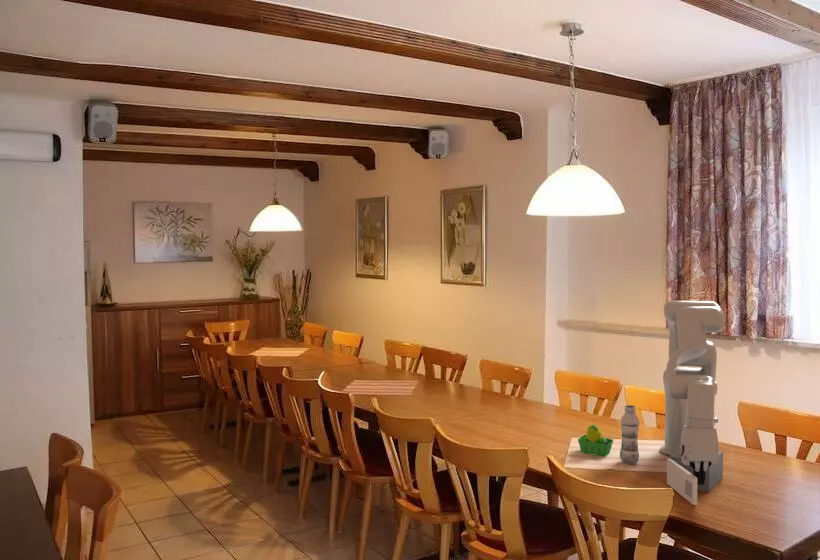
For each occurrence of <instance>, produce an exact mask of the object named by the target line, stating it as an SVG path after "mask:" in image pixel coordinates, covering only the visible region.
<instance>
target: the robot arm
mask: <svg viewBox="0 0 820 560" xmlns="http://www.w3.org/2000/svg"><path fill="white" fill-rule="evenodd" d="M663 313H664V319H665V321H666V322H667V325H668V328H669V337H668V361H667V363H666V368H665V370H664V371H663V374H662V381H663V389H664V400H665V401H664V403H665V404H664V405H665V407H664V409H665V410H664V445H662V446H660V448H659V451H660V453H662V454H663V455H666V456H668V457H670V456H671V455H672V454H674V453H675V452H676V451H678V450H679V449H680V456H681V457H682V460H681V463H683V464H684V465H689V466H691V467H692V469H693V475H694V476H696V477H697V484H698V485H701V484H702V485H704V481H705V472H706V471H707V469H708V468H709V467H710V466H711V465H713V464H717V463H718V460H717V459H718V456H719V447H720V446H719V437H718V432H717V428H716V426H715V425H716V424H717V423H719V418H718V417H716V416H715V397H716V395H717V393H718V383H717V381H716V377H717V376H716V375H717V374H716V373H717V362H718V361H717V356H718V355H717V354H718V353H717V352H718V351H717V349H716V345H715V344H714V343H713V342H712V341H709V340H708V339H707V333H721V332H722V331H723V330H724V328H725V323H726V322H725V321H726V320H725V319H726V318H725V315H724V312H723V309H722V308H721V306H720V305H719V304H718V303H717V302H715V301H713V300H712V301H711V300H669V301H666V303H665V304H664V306H663ZM699 461H700V464H699Z"/></svg>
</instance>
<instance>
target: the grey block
mask: <svg viewBox="0 0 820 560" xmlns="http://www.w3.org/2000/svg"><path fill="white" fill-rule="evenodd" d="M669 459H672V460H673V461H675V462H676V463H677V464H679V465H680V466H682V467H683V468H684V469H686V470H687V471H689V472H690V473H691V474H693V469H692V467H691V466H689V465H684V464H683V463H681V460H682V457H681V456H680V449H679V450H678V451H676V452H675V453H674V454H672V455H671V456H669ZM717 460H718V463H717V464H713V465H711V466H710V467H709V468H708V469H707V471H706V472H705V481H704V485H702V484H701V485H698V484H697V491H702V492H707V493H710V492H711V491H712V490H713V489H714V488H715V487H716V486H717V485H718V483H720V482H721V480H722V479H723V478H724V477H723V476H724V450H719V456H718V459H717ZM699 464H700V461H699Z"/></svg>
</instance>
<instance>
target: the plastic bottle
mask: <svg viewBox="0 0 820 560" xmlns="http://www.w3.org/2000/svg"><path fill="white" fill-rule="evenodd" d="M636 409H637V407H636V405H632V404H630V405H628V404H626V405H624V413H623V415H622V416H621V418H620V428H621V429H620V430H621V446H620V451H619V458H620V461H621V462H623V463H626V464H633V465H634V464H637V463H638V462H639V459H640V452H639V446H638V445H639V444H638V442H639V441H638V437H639V430H640V429H639V428H640V419H639V418H638V415H636Z"/></svg>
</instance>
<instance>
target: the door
mask: <svg viewBox="0 0 820 560" xmlns="http://www.w3.org/2000/svg"><path fill="white" fill-rule="evenodd" d="M666 484H667V485H668V486H669V487H671V489H673V490H674V491H675V492H677V493H678V494H679V495H680V496H682V498H684V499H685V500H687V501H688V502H689V503H690V504H691V505H692V506H694V505H695V506H696V505H698V490H697V477H696V476H694V475H693V474H691V473H690V472H689V471H687V470H686V469H684V468H683V467H682V466H680V465H679V464H677V463H676V462H675V461H673V460H672V459H670V458H667V459H666Z"/></svg>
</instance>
